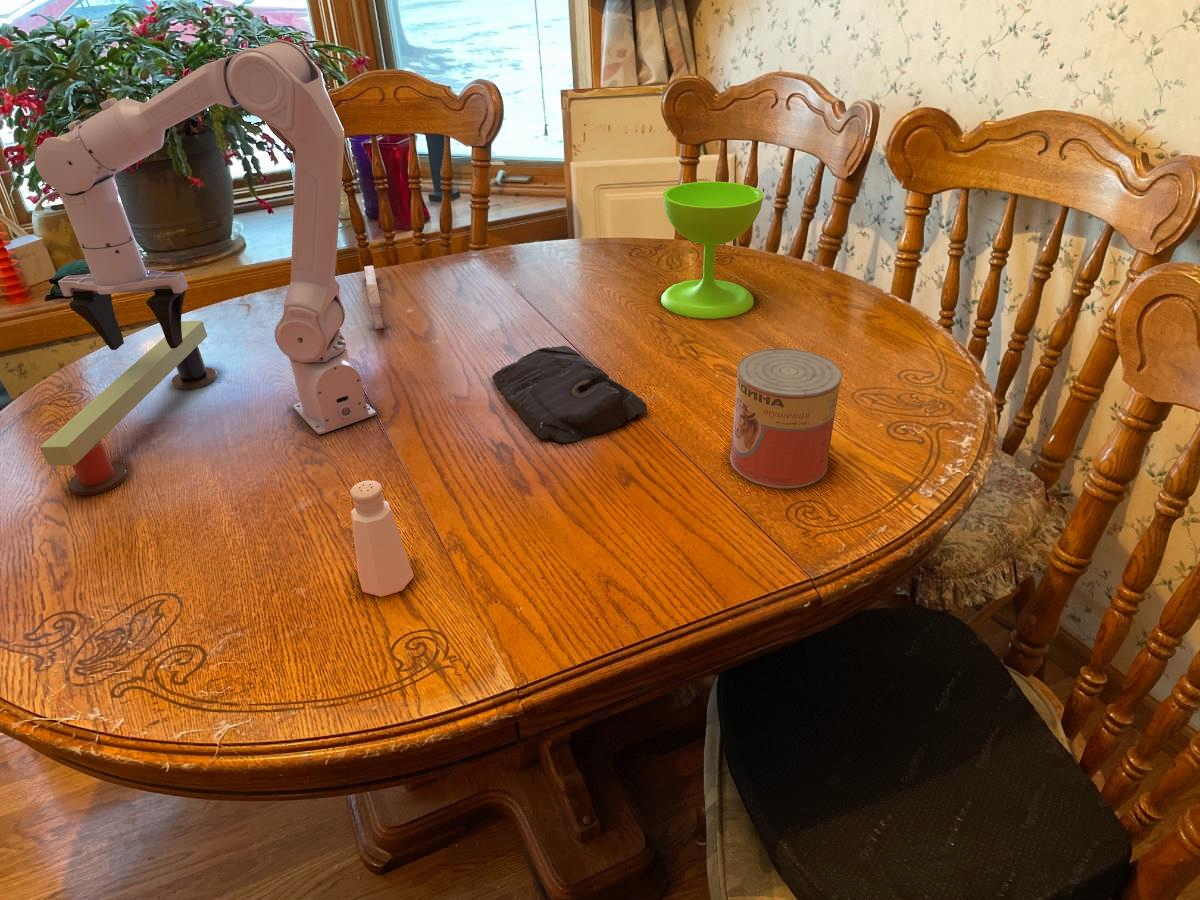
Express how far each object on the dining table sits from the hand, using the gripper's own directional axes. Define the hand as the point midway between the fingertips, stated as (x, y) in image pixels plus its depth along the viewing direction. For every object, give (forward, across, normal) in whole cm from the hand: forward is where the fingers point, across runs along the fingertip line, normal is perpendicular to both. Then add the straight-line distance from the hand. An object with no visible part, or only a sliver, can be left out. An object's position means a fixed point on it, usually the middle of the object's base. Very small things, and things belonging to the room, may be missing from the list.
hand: (147, 346), depth 99 cm
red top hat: (+10, -2, -15) cm, 18 cm away
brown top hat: (+10, -2, +10) cm, 15 cm away
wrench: (+11, +19, +36) cm, 42 cm away
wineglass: (+11, +76, +36) cm, 85 cm away
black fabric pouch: (+11, +53, +2) cm, 54 cm away
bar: (+5, -2, -2) cm, 6 cm away
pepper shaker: (+11, +37, -33) cm, 51 cm away
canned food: (+11, +79, -14) cm, 81 cm away
